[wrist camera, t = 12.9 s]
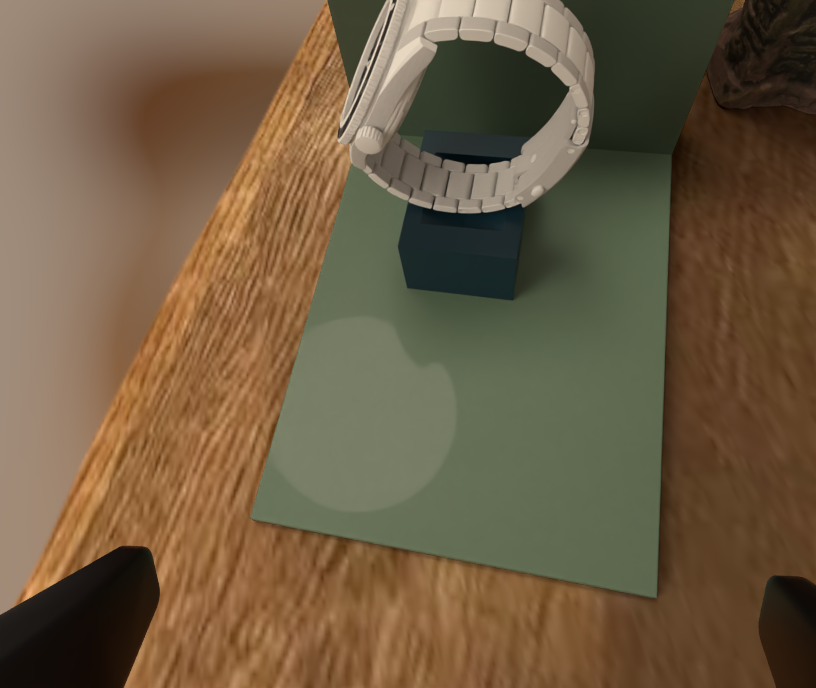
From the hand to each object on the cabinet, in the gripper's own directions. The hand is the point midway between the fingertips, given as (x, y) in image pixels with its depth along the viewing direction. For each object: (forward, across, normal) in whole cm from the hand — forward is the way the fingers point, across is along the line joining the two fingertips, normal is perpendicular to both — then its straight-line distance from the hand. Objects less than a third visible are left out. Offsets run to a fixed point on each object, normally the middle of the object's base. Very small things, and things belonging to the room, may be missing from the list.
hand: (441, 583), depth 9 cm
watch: (+19, 0, -1) cm, 19 cm away
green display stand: (+17, -1, +1) cm, 17 cm away
